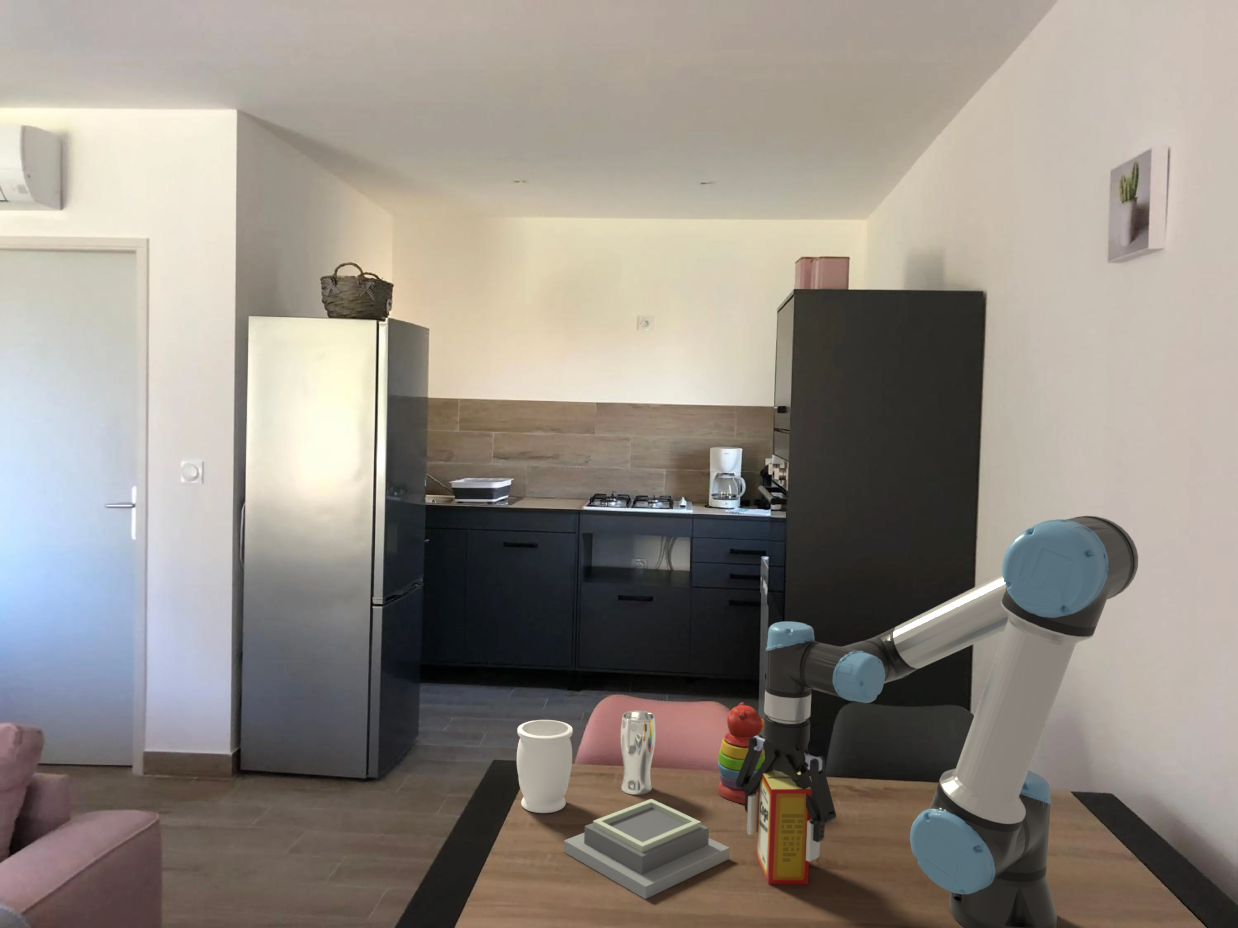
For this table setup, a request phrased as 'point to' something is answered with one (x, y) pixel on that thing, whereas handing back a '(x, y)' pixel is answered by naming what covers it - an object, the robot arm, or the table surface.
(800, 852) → the baking soda box
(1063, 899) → the table surface
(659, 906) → the table surface
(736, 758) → the stacking bear
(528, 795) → the jar
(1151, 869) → the table surface
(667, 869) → the plinth
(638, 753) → the beer glass
